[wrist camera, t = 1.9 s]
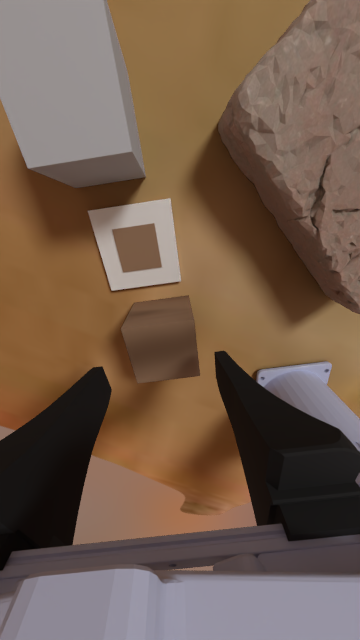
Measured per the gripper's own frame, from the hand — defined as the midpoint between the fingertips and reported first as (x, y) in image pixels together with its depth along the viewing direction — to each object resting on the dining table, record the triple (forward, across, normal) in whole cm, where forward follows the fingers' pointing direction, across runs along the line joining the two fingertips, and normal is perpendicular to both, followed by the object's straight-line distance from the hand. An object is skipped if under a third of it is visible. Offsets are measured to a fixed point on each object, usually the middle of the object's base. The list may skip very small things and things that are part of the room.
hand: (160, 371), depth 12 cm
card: (+7, +1, -7) cm, 10 cm away
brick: (+7, -13, -9) cm, 18 cm away
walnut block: (+7, 0, 0) cm, 7 cm away
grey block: (+7, +2, -14) cm, 16 cm away
